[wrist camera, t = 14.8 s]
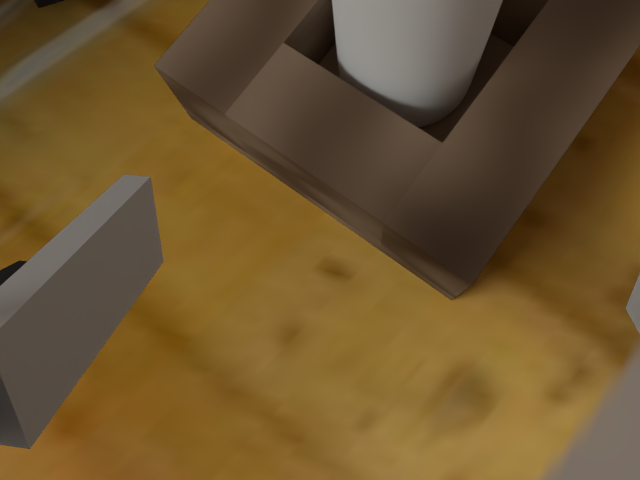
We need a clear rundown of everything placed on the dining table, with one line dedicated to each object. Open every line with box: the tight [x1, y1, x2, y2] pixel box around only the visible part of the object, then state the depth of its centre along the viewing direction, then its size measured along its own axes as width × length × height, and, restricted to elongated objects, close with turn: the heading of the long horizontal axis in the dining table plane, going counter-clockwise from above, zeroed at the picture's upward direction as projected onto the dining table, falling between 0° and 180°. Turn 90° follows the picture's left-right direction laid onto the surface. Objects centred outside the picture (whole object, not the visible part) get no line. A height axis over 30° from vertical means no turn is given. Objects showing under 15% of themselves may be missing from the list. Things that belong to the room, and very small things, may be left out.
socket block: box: [154, 0, 640, 300], centre depth 25 cm, size 16×16×5 cm
